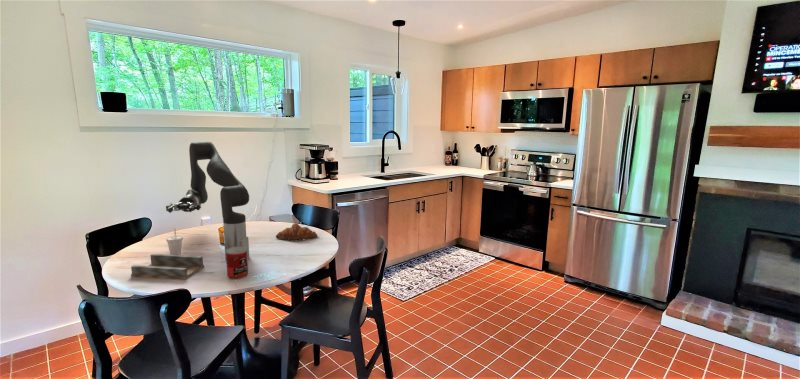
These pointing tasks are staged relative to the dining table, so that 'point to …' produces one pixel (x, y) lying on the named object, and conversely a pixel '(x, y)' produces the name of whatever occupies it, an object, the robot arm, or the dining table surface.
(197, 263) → the door track
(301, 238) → the pastry
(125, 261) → the dining table surface
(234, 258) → the canned food
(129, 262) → the dining table surface
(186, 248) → the dining table surface
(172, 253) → the smoothie
